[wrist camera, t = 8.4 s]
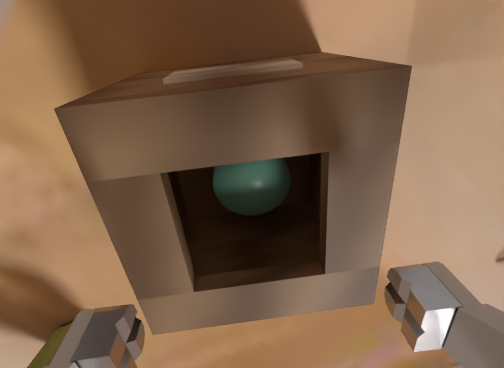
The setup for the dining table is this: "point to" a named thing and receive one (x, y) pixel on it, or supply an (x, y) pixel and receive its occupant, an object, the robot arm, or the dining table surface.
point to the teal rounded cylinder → (252, 185)
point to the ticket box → (239, 151)
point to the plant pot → (50, 348)
